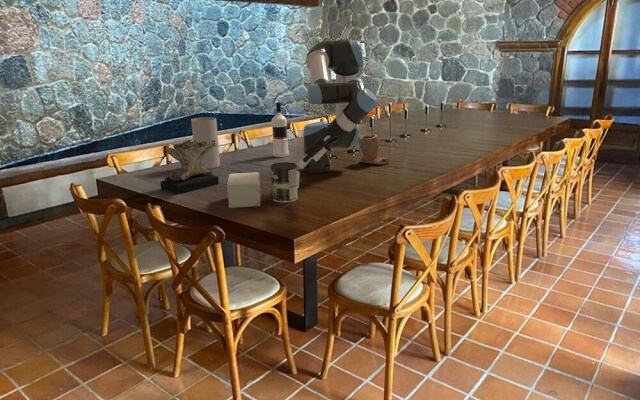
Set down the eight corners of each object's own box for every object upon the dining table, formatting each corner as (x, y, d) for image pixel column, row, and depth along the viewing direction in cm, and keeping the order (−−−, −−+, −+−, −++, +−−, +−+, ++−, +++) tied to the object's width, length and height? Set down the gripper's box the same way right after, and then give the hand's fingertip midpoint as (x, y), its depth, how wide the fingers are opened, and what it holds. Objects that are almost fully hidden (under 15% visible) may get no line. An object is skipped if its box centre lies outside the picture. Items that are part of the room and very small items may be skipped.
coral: (207, 178, 240) (203, 133, 234) (233, 185, 226) (229, 137, 220) (160, 189, 223) (154, 141, 217) (185, 197, 209) (179, 146, 203)
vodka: (269, 156, 286) (266, 102, 277) (283, 153, 291) (280, 101, 283) (279, 158, 279) (276, 103, 270) (292, 156, 284) (290, 102, 276)
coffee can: (277, 204, 196) (275, 169, 192) (268, 197, 205) (266, 164, 201) (302, 200, 200) (300, 165, 196) (292, 194, 209) (290, 161, 205)
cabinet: (260, 195, 209) (259, 171, 206) (260, 207, 193) (259, 182, 190) (231, 197, 208) (229, 173, 205) (228, 209, 192) (226, 183, 189)
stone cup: (353, 164, 261) (353, 135, 256) (367, 160, 269) (366, 132, 265) (378, 167, 251) (378, 138, 247) (391, 163, 260) (391, 134, 256)
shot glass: (300, 185, 223) (299, 169, 221) (300, 189, 216) (299, 173, 214) (284, 185, 223) (284, 170, 221) (284, 190, 216) (283, 174, 214)
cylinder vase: (214, 169, 257) (210, 120, 249) (191, 169, 259) (186, 120, 252) (223, 164, 268) (219, 117, 261) (202, 163, 271) (197, 117, 264)
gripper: (337, 138, 173) (299, 177, 183) (360, 127, 195) (326, 162, 205) (322, 122, 173) (286, 162, 184) (347, 113, 195) (313, 149, 205)
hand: (307, 162), depth 194 cm, fingers open, 13 cm apart
